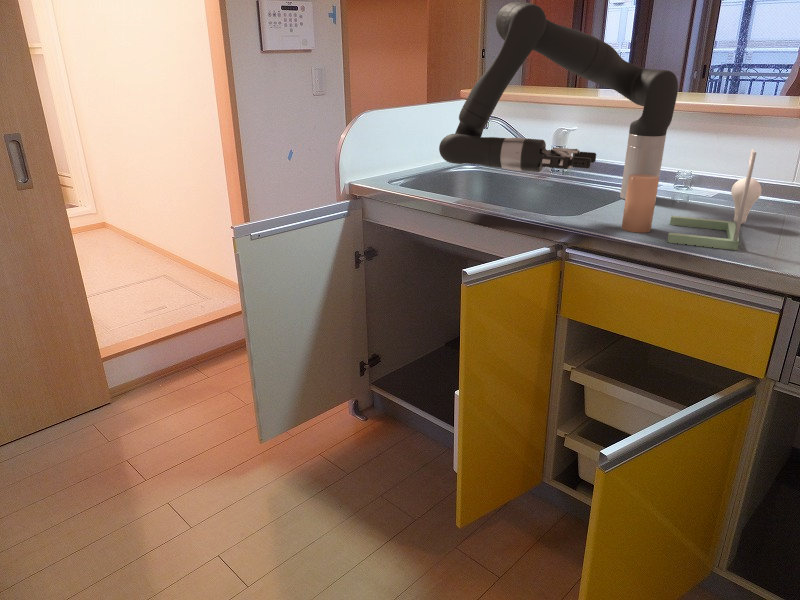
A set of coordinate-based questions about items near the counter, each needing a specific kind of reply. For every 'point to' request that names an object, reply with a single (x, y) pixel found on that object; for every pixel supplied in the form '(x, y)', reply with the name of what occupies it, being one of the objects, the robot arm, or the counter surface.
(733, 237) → the green u-shaped stand
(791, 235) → the counter surface
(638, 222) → the peach cylinder
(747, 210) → the lightbulb
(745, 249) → the counter surface
